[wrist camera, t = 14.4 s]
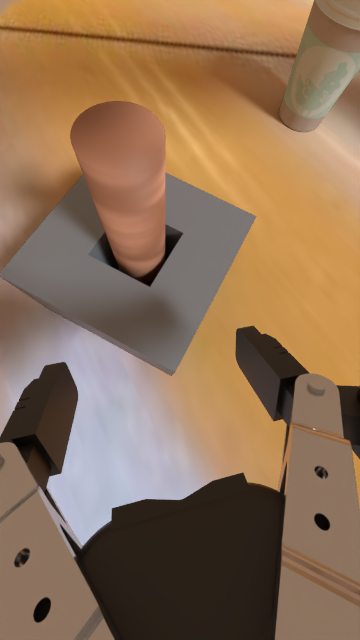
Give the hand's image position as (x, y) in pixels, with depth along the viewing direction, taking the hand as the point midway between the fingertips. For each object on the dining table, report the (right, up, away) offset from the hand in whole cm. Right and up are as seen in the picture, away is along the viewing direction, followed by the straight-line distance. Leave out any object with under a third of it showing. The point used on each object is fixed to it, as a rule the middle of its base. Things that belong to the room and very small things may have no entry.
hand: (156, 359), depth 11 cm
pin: (-2, +6, +12) cm, 14 cm away
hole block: (-3, +6, +13) cm, 15 cm away
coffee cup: (+18, +30, +22) cm, 41 cm away
